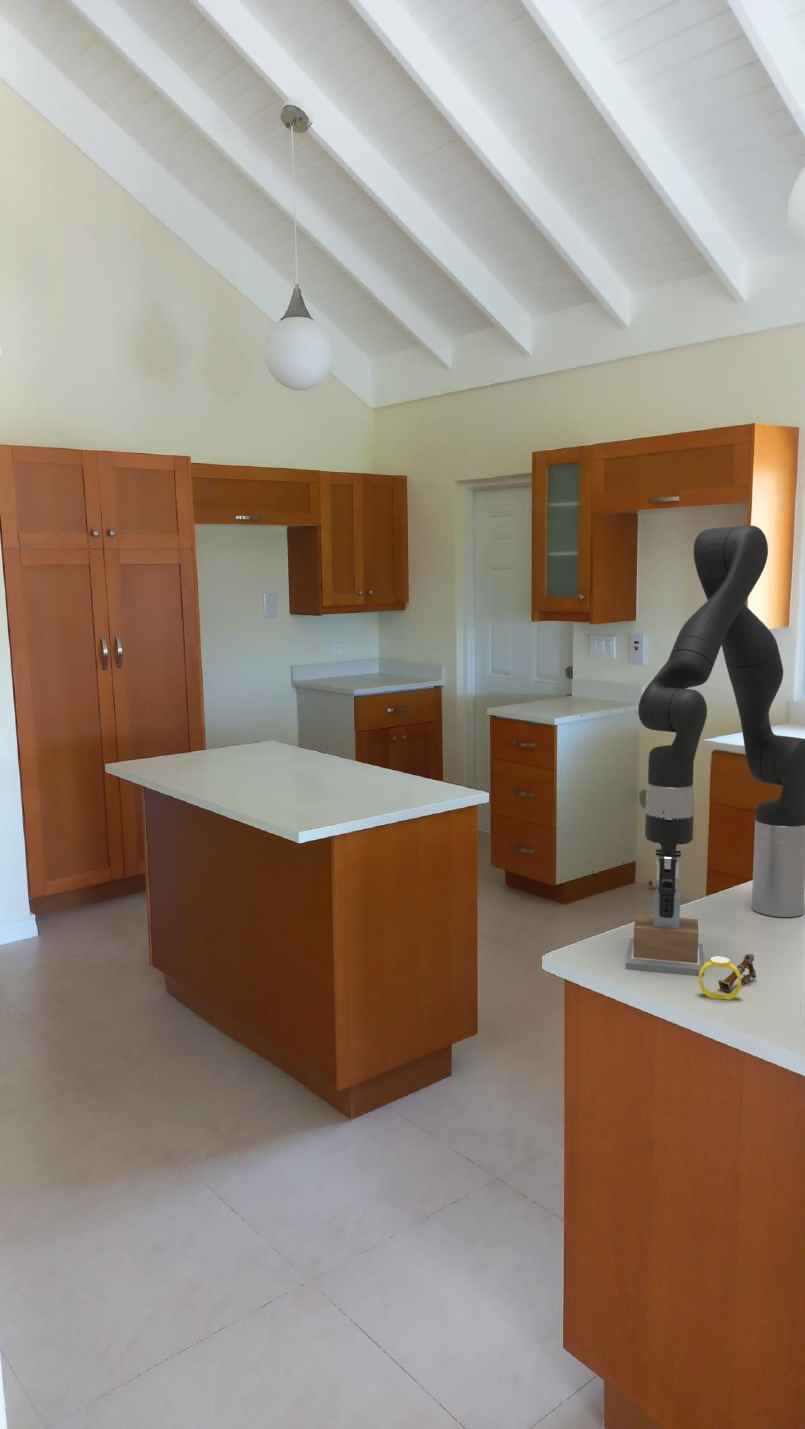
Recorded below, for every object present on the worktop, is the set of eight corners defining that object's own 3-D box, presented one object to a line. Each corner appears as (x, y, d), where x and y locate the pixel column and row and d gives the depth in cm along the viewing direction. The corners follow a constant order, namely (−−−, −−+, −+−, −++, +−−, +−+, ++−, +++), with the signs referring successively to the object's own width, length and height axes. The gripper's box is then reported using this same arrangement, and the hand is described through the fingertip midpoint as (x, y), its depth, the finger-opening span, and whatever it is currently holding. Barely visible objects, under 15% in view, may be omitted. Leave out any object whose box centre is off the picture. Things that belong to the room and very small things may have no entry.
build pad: (629, 943, 171) (629, 937, 171) (702, 950, 168) (702, 943, 168) (625, 968, 160) (626, 962, 160) (704, 976, 157) (704, 969, 157)
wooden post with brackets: (763, 974, 155) (757, 951, 153) (734, 1006, 151) (727, 983, 149) (752, 971, 156) (746, 948, 155) (724, 1002, 152) (717, 979, 151)
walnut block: (635, 943, 169) (635, 914, 168) (696, 948, 166) (697, 919, 165) (633, 957, 162) (633, 927, 161) (697, 963, 159) (698, 932, 159)
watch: (699, 1000, 148) (697, 961, 148) (699, 993, 151) (697, 955, 150) (742, 1002, 146) (740, 963, 146) (741, 995, 149) (739, 956, 148)
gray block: (654, 918, 166) (655, 889, 165) (679, 920, 165) (680, 891, 164) (653, 926, 162) (654, 896, 161) (679, 928, 161) (680, 898, 160)
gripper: (647, 801, 169) (644, 894, 171) (643, 819, 155) (641, 920, 157) (693, 803, 167) (690, 898, 169) (694, 822, 153) (690, 924, 155)
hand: (666, 909), depth 163 cm, fingers open, 8 cm apart
